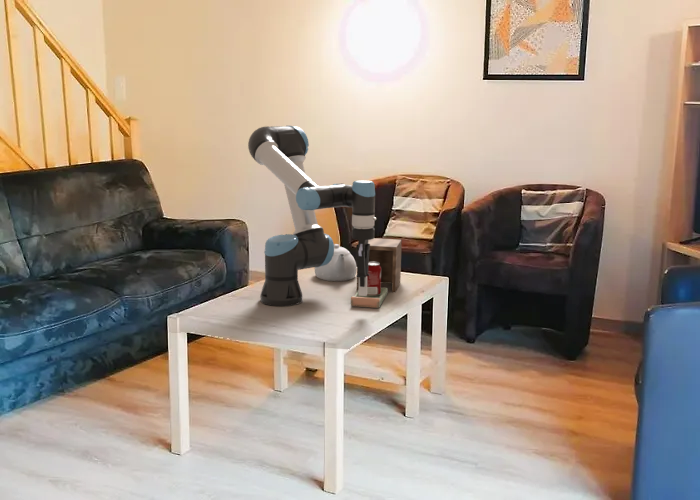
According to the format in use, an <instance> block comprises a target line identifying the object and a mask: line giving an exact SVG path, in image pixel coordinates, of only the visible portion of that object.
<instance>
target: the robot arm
mask: <svg viewBox="0 0 700 500" xmlns="http://www.w3.org/2000/svg"><path fill="white" fill-rule="evenodd" d="M247 142H248V144H247V145H248V146H247V149H248V151H249V155H250V156H251V158H252V159H254V161H255V162H256V163H257V164H259V165H261V166H264V167H266V168H267V169H268V171H270V172H271V173H272V174H273V175H274V176H275V177H276V178H277V179H278V180H279V181H280V182H281V183H282V184H284V189H285V192H286V193H285V194H286V197H287V201H288V205H289V209H290V214H291V219H292V223H293V226H294V232H293V233H292V234H291V233H288V234H287V233H286V234H277V235H274V236H271V237H269V238H268V239H267V240H266V241H265V245H264V252H263V253H264V273H265V274H264V282H263V284H262V285H263V286H262V288H261V292H260V294H259V295H260V297H259V298H260V300H259V301H260V302H261V304H264V305H268V306H275V307H288V306H295V305H299V304H301V303H303V292H302V288H301V286H300V282H299V278H298V275H299V274H298V273H299V272H298V271H300V270H301V271H302V270H307V269H311V268H313V269H314V268H315V267H320V266H324V265H327V264H328V263H329V262H330V261H331V259H332V256H333V254H334V244H335V243H334V240H333V238H332V237H331V236H330V235H329V234H327V233H325V232H324V227H323V226H321V225H319V224H318V219H317V216H316V212H315V210H322V209H333V208H341V207H343V208H345V207H346V208H352V209H351V210H352V212H351V213H352V215H351V225H352V229H351V230H352V231H351V235H352V236H351V237H352V239H353V240H357V241H358V242H357V244H356V251H355V253H356V267H357V270H356V275H355V277H356V278H357V277H359V296H367V276H369V275H370V274H368V271H369V270H368V267H369V249H370V244H368V240H371V239H374V238H375V234H376V233H375V232H376V231H375V221H376V220H377V217H375V214H376V213H375V212H376V209H375V208H376V189H375V187H376V185H375V183H374V181H372V180H361V179H360V180H359V179H358V180H353V182H352V185H351V184H345V183H333V184H331V185H321V186H320V185H318V184H317V183H316V182H315V181H313V179H311V178H310V177H309V176H308V175H307V174H306V170H305V167H304V162H305V160H306V156H307V154H308V151H309V146H310V144H309V139H308V136H307V133H305V131H304V130H303V129H302V128H301V127H299V126H294V125H293V126H292V125H284V126H283V125H281V126H280V125H278V126H277V125H276V126H275V125H274V126H273V125H272V126H267V125H265V126H261V127H258V128H257V129H255V130H254V131H253V132H252V134H251V135H250V136H249V138H248V141H247ZM357 273H358V274H357Z"/></svg>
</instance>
